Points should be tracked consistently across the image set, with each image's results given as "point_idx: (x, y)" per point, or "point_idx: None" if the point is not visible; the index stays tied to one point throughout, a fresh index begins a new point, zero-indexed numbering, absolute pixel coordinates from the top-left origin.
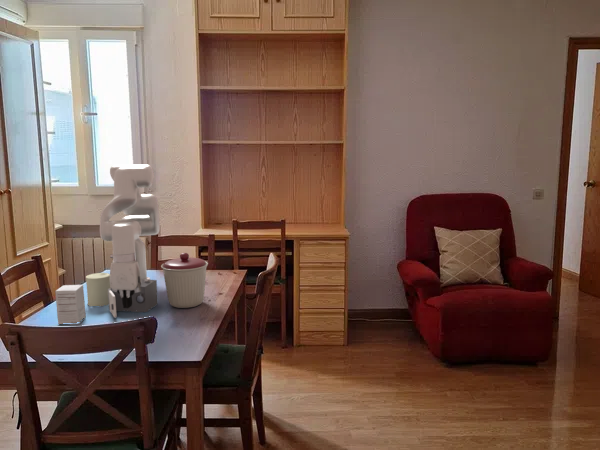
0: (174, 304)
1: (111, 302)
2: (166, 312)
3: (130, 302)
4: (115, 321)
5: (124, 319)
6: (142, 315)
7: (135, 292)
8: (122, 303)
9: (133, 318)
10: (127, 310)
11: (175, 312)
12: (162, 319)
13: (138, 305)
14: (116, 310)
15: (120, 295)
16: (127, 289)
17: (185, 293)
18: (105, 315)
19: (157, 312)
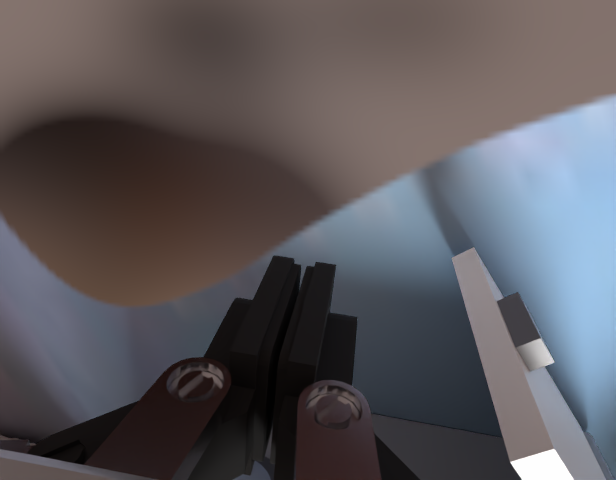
0: None
1: (576, 445)
2: (73, 374)
3: (225, 328)
4: (434, 168)
5: (357, 226)
6: None
7: (9, 444)
8: (356, 327)
9: (278, 251)
10: (410, 427)
11: (7, 369)
12: (3, 220)
13: None
14: None
15: (366, 418)
16: (11, 464)
17: None
18: (602, 341)
19: (142, 379)
